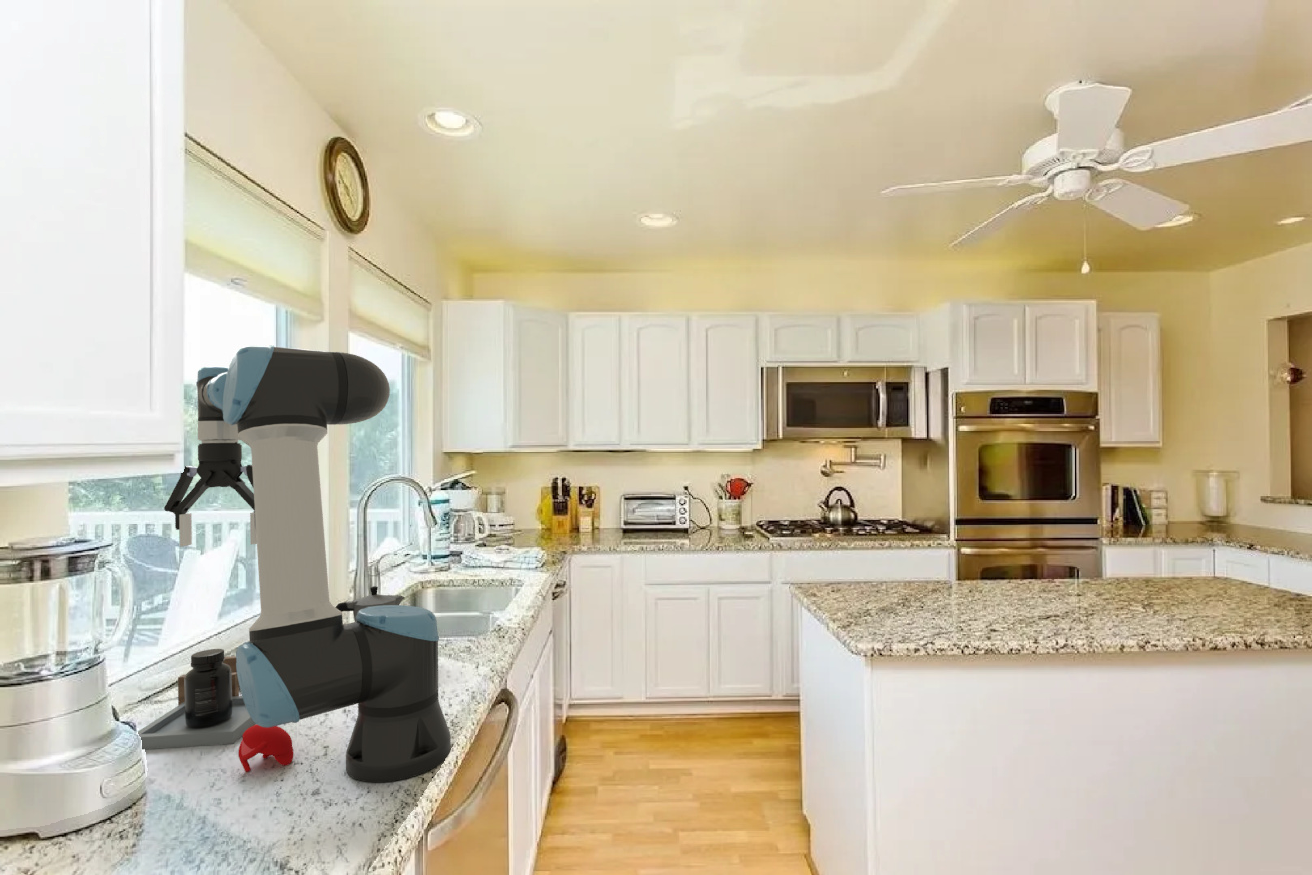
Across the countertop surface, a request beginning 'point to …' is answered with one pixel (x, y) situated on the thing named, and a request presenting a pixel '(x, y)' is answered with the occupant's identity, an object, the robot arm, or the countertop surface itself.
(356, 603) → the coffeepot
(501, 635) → the countertop surface
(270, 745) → the cap
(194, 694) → the supplement bottle
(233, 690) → the brown wooden block
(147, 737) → the tray
